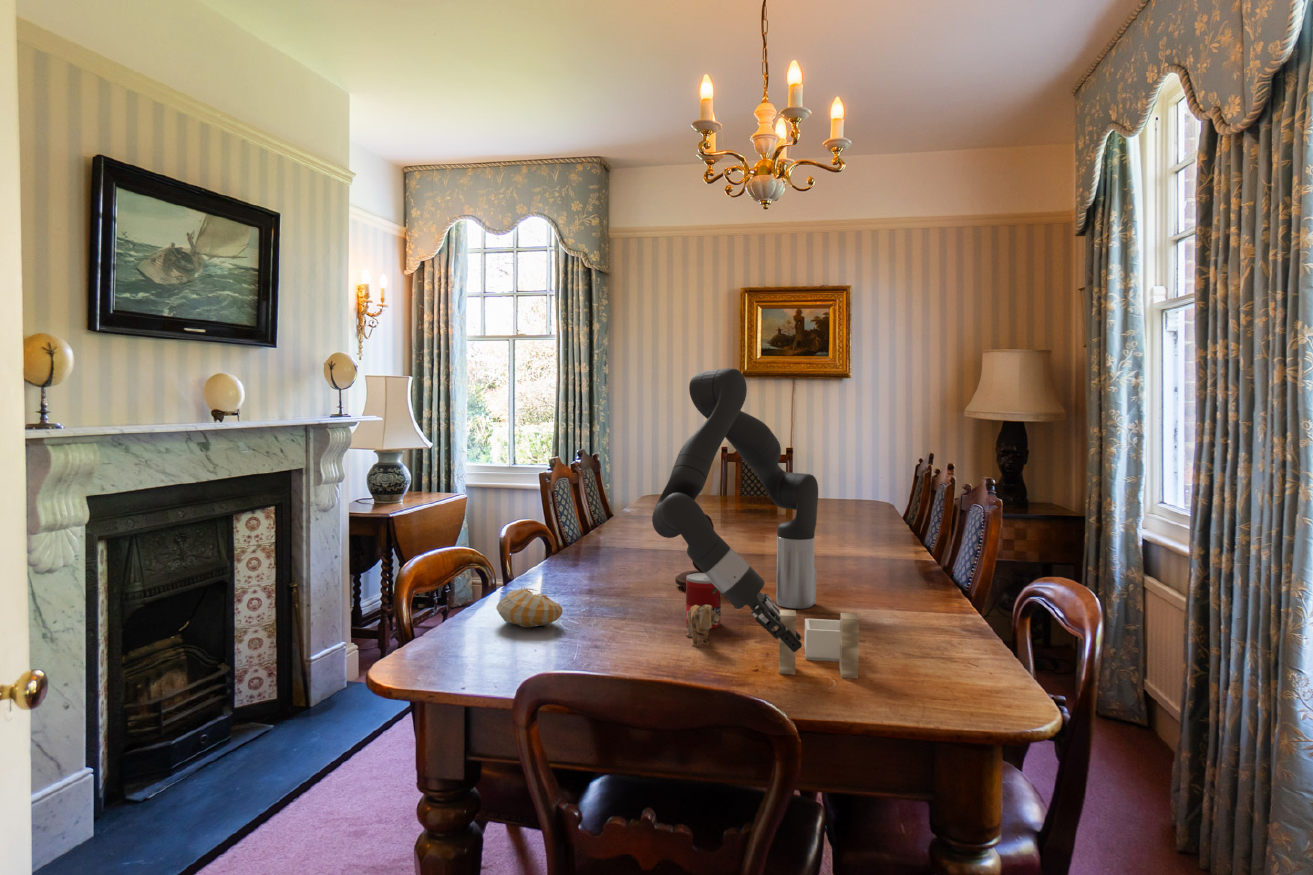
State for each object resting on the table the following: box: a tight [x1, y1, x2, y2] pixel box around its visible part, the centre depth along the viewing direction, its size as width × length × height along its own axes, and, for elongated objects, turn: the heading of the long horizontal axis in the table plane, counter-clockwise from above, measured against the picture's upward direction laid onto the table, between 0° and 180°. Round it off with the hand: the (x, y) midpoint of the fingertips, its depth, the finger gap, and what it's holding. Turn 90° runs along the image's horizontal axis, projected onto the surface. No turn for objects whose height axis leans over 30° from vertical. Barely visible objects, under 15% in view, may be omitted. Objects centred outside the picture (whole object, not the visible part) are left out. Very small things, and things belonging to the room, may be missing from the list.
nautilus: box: [495, 585, 563, 628], centre depth 170 cm, size 8×22×15 cm
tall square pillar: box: [778, 609, 797, 676], centre depth 140 cm, size 3×4×11 cm
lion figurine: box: [685, 605, 720, 648], centre depth 157 cm, size 15×5×9 cm, turn 16°
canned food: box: [685, 573, 722, 630], centre depth 169 cm, size 8×8×11 cm
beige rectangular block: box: [838, 612, 860, 680], centre depth 138 cm, size 3×4×11 cm
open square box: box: [803, 618, 840, 663], centre depth 149 cm, size 8×8×6 cm
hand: (797, 644), depth 139 cm, fingers closed on tall square pillar, 4 cm apart
